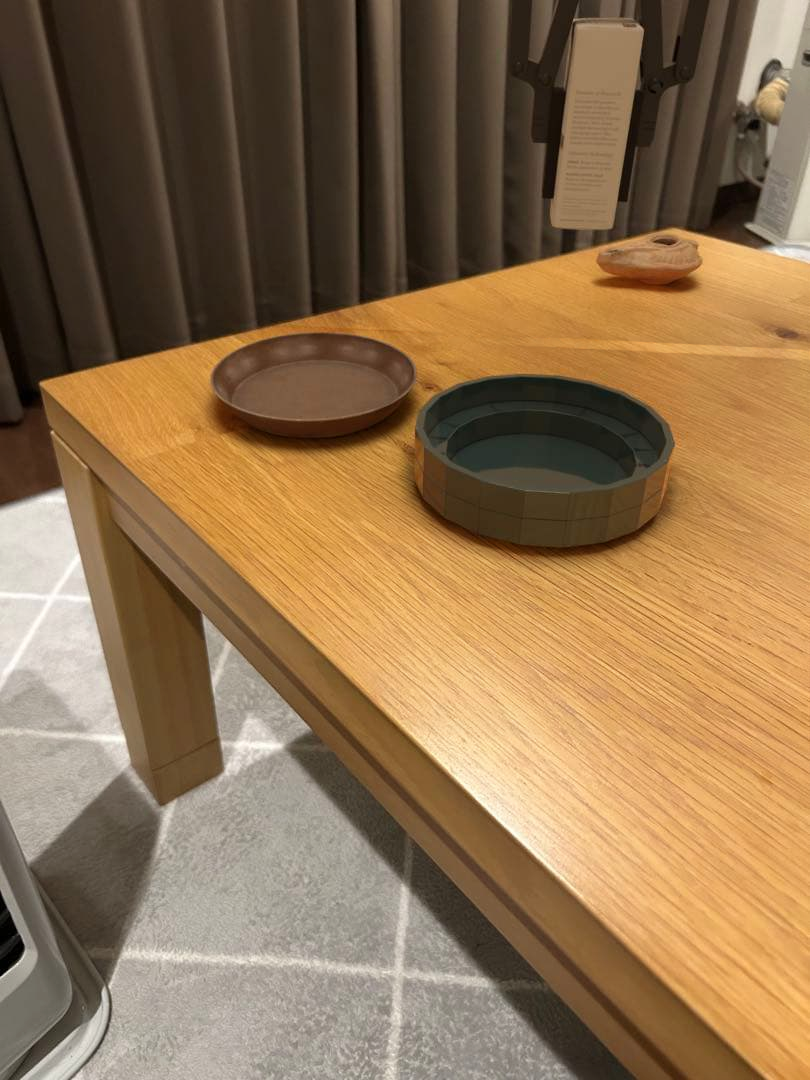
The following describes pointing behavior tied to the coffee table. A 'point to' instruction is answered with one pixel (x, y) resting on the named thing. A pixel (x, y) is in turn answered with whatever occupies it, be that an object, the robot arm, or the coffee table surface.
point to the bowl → (542, 459)
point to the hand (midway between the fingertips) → (583, 194)
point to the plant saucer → (314, 383)
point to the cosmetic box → (595, 121)
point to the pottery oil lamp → (652, 258)
